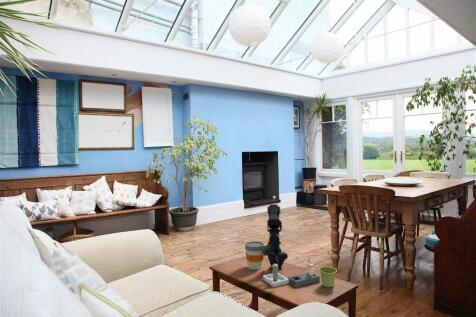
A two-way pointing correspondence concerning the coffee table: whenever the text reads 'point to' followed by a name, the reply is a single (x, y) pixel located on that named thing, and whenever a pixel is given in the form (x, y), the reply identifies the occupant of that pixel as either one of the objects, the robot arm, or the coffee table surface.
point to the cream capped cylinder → (275, 272)
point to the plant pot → (328, 276)
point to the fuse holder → (303, 279)
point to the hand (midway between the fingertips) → (275, 267)
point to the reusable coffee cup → (254, 255)
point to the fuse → (310, 270)
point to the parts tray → (281, 281)
